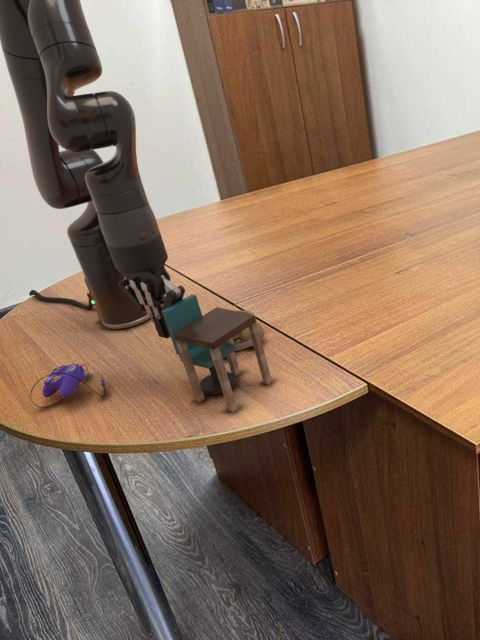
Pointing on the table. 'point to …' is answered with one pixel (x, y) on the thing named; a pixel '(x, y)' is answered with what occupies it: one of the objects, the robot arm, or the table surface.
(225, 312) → the desk
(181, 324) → the chair
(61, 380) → the game controller
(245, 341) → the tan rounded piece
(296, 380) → the table surface
